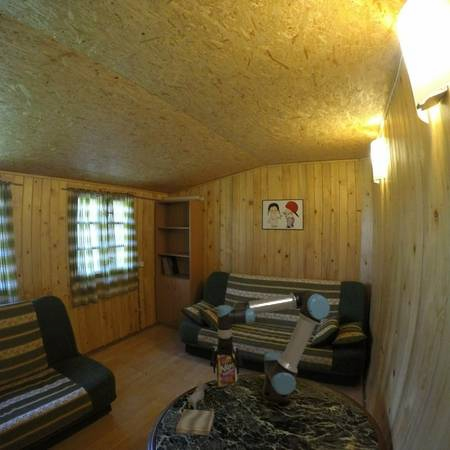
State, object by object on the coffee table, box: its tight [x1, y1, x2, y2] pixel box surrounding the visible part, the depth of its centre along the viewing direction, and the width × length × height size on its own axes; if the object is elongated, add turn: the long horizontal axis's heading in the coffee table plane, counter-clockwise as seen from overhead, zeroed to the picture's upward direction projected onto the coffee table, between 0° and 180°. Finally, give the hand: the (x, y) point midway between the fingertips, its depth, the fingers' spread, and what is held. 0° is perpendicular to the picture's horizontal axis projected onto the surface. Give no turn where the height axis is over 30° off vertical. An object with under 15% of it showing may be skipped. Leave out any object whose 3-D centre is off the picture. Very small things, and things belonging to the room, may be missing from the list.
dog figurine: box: [187, 381, 207, 410], centre depth 149 cm, size 5×13×11 cm, turn 147°
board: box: [175, 408, 215, 436], centre depth 134 cm, size 16×14×2 cm
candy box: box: [216, 352, 237, 387], centre depth 142 cm, size 9×4×15 cm, turn 103°
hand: (226, 379), depth 142 cm, fingers closed on candy box, 9 cm apart
